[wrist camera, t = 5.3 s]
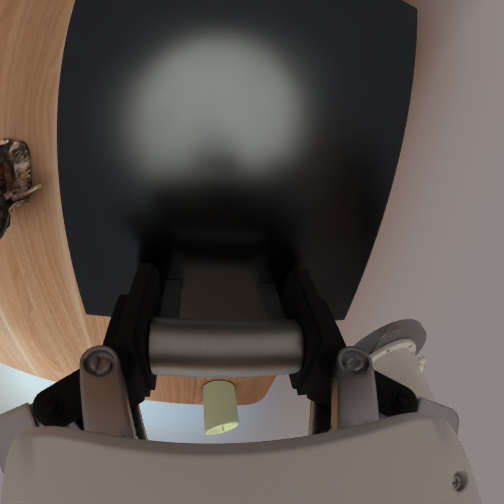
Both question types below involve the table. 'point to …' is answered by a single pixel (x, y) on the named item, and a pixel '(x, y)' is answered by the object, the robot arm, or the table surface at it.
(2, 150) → the camouflage figurine
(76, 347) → the table surface
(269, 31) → the bin lid
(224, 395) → the candle
